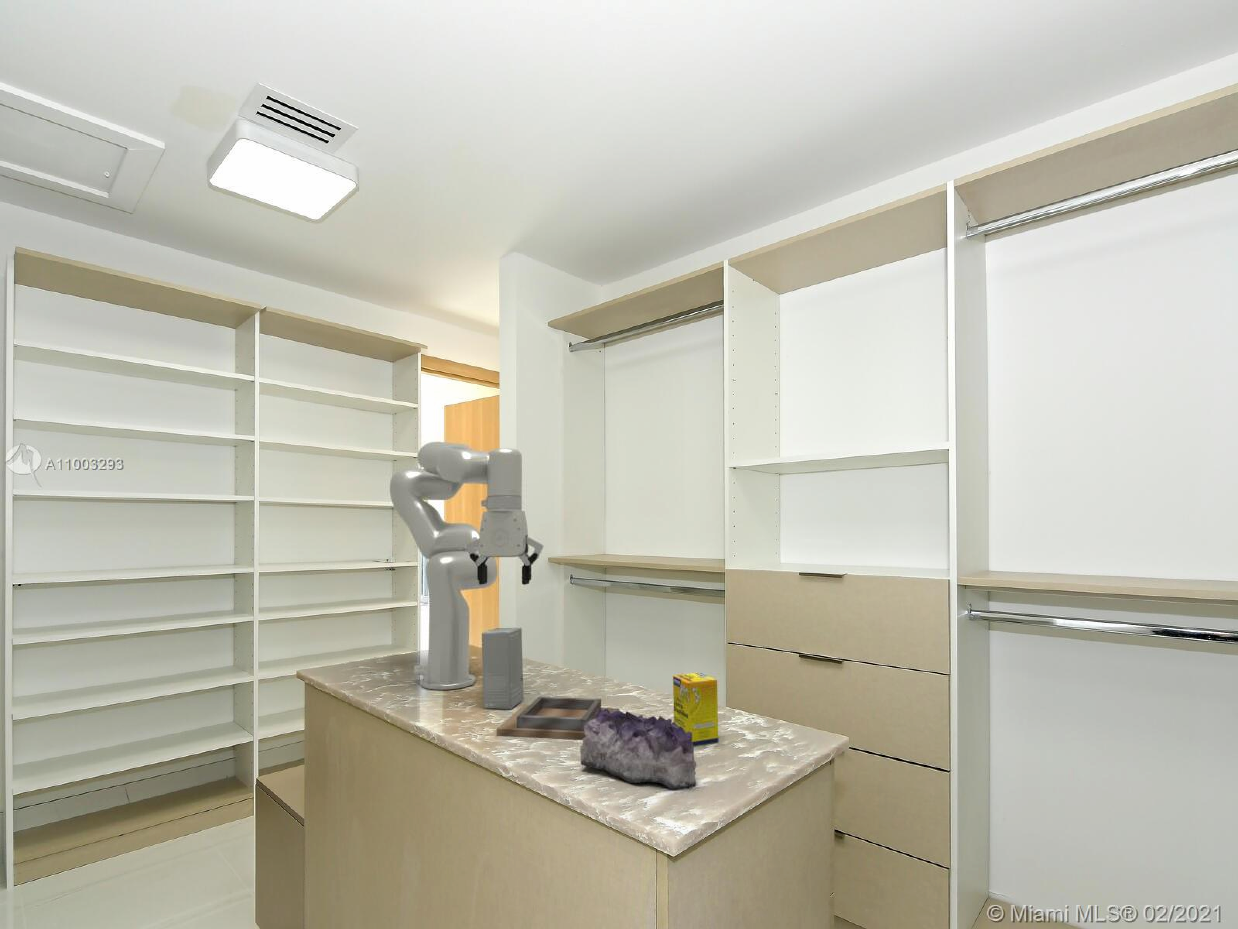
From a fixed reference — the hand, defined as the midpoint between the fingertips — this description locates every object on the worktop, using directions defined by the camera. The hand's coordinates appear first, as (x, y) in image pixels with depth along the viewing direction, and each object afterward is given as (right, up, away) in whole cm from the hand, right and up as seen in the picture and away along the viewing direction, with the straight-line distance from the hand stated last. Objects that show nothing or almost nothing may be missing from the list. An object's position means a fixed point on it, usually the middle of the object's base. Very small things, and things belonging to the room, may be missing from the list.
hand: (504, 584), depth 142 cm
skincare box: (0, -26, -2) cm, 26 cm away
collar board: (+14, -24, -16) cm, 32 cm away
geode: (+28, -22, -40) cm, 54 cm away
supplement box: (+39, -23, -26) cm, 52 cm away
